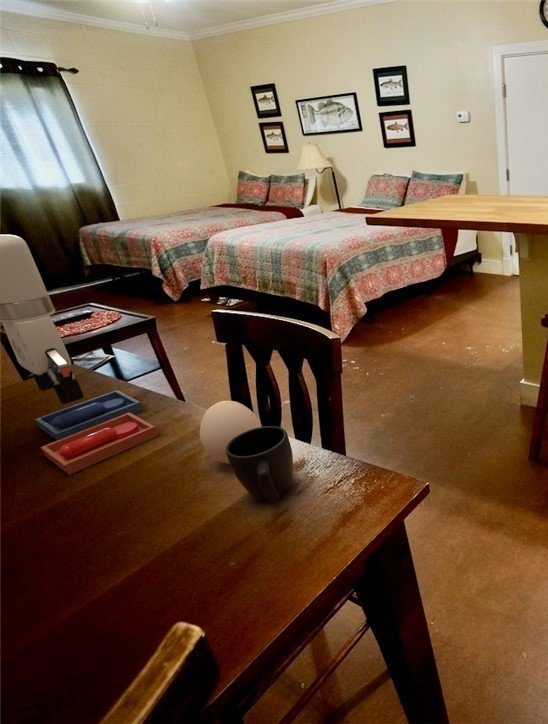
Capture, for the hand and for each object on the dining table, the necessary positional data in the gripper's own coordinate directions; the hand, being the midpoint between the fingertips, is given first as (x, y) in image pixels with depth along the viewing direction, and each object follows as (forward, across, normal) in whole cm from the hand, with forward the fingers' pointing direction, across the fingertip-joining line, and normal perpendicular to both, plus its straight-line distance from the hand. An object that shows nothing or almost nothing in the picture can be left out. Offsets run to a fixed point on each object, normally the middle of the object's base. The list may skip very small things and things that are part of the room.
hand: (62, 394), depth 90 cm
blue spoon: (+6, 0, +3) cm, 7 cm away
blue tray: (+7, 0, +3) cm, 7 cm away
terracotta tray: (+7, +13, 0) cm, 15 cm away
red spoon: (+6, +13, 0) cm, 15 cm away
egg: (+6, +39, +10) cm, 41 cm away
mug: (+6, +53, +7) cm, 54 cm away
